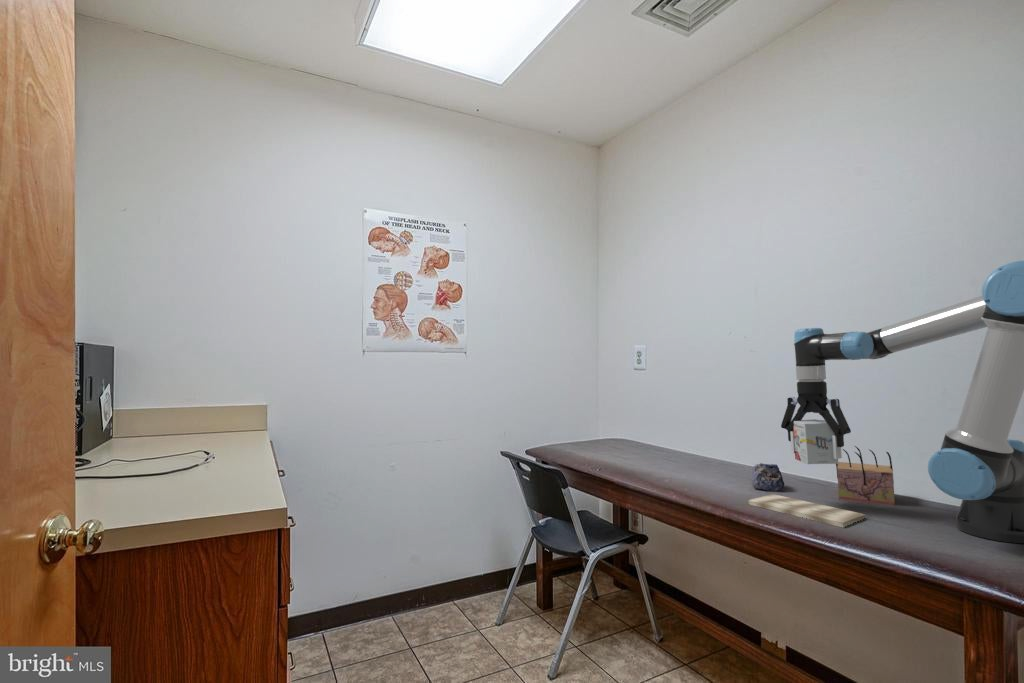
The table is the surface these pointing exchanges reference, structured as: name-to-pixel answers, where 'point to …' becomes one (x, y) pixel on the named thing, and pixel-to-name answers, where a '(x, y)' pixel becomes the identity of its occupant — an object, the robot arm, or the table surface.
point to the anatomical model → (866, 481)
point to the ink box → (814, 442)
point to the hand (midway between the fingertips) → (815, 455)
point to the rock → (767, 477)
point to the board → (807, 510)
